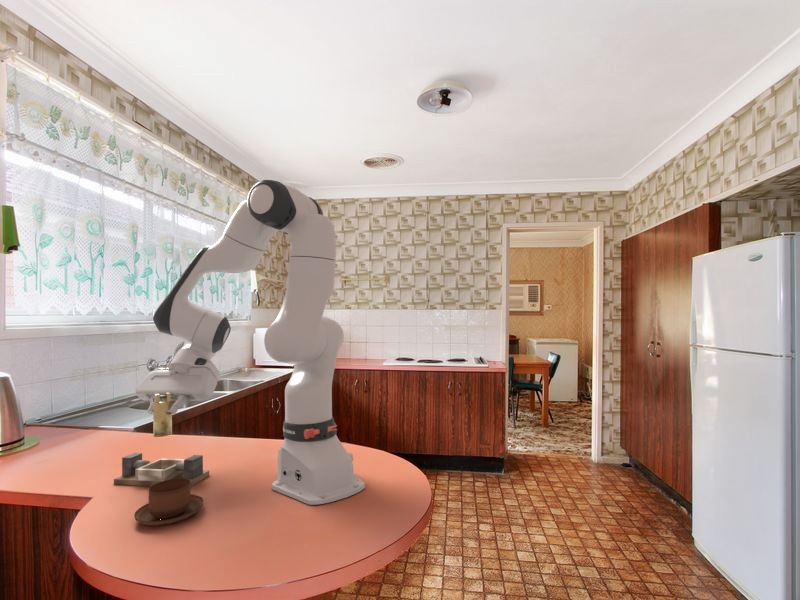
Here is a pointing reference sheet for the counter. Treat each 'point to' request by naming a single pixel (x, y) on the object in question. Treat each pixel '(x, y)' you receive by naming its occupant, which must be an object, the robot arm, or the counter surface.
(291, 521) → the counter surface
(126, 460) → the shaft stand
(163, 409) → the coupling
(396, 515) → the counter surface
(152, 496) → the cup and saucer
